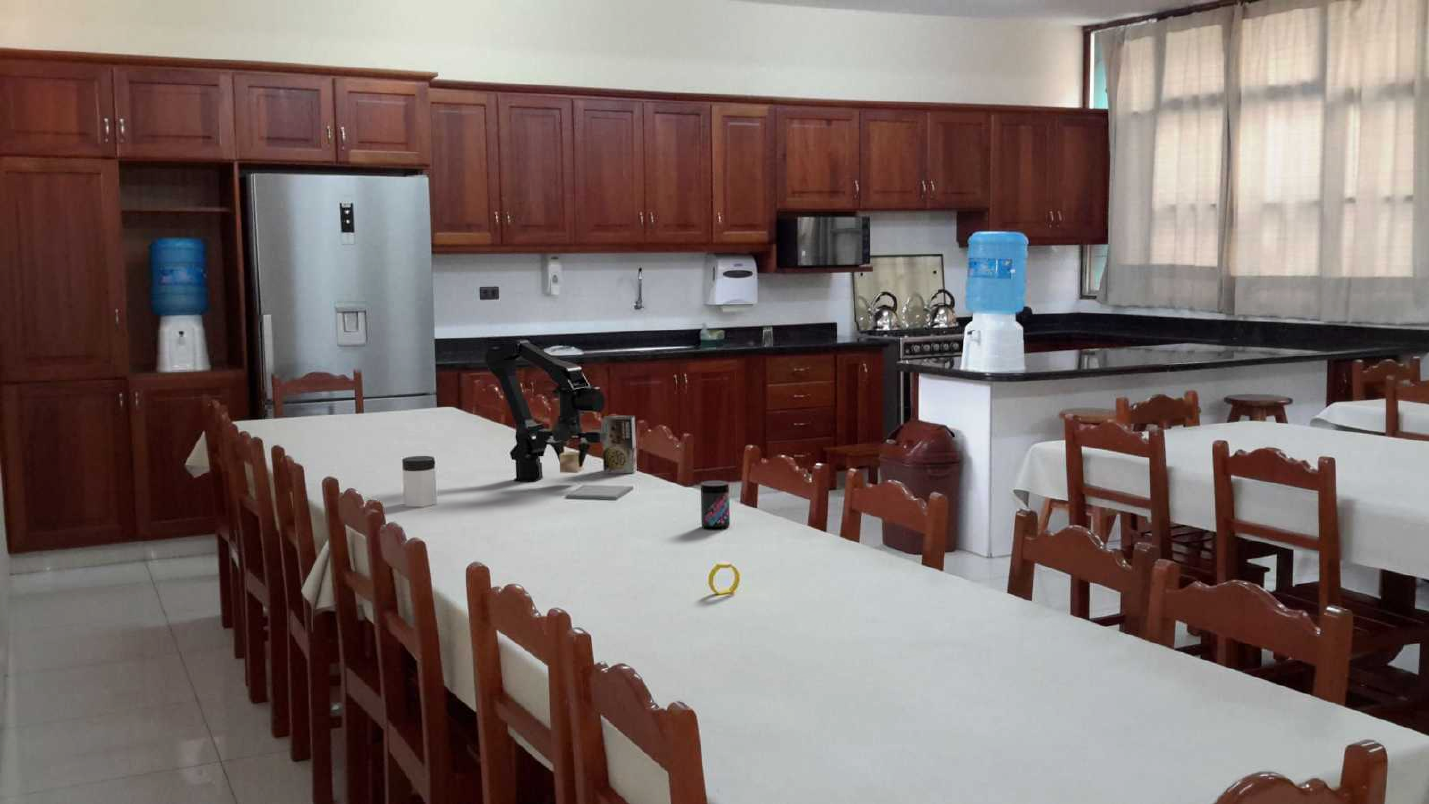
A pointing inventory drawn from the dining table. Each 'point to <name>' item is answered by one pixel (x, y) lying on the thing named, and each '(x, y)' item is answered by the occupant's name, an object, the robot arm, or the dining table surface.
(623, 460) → the coffee box
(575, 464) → the maple cube
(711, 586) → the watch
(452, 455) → the dining table surface
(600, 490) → the mat
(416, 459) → the jar
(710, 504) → the supplement container
